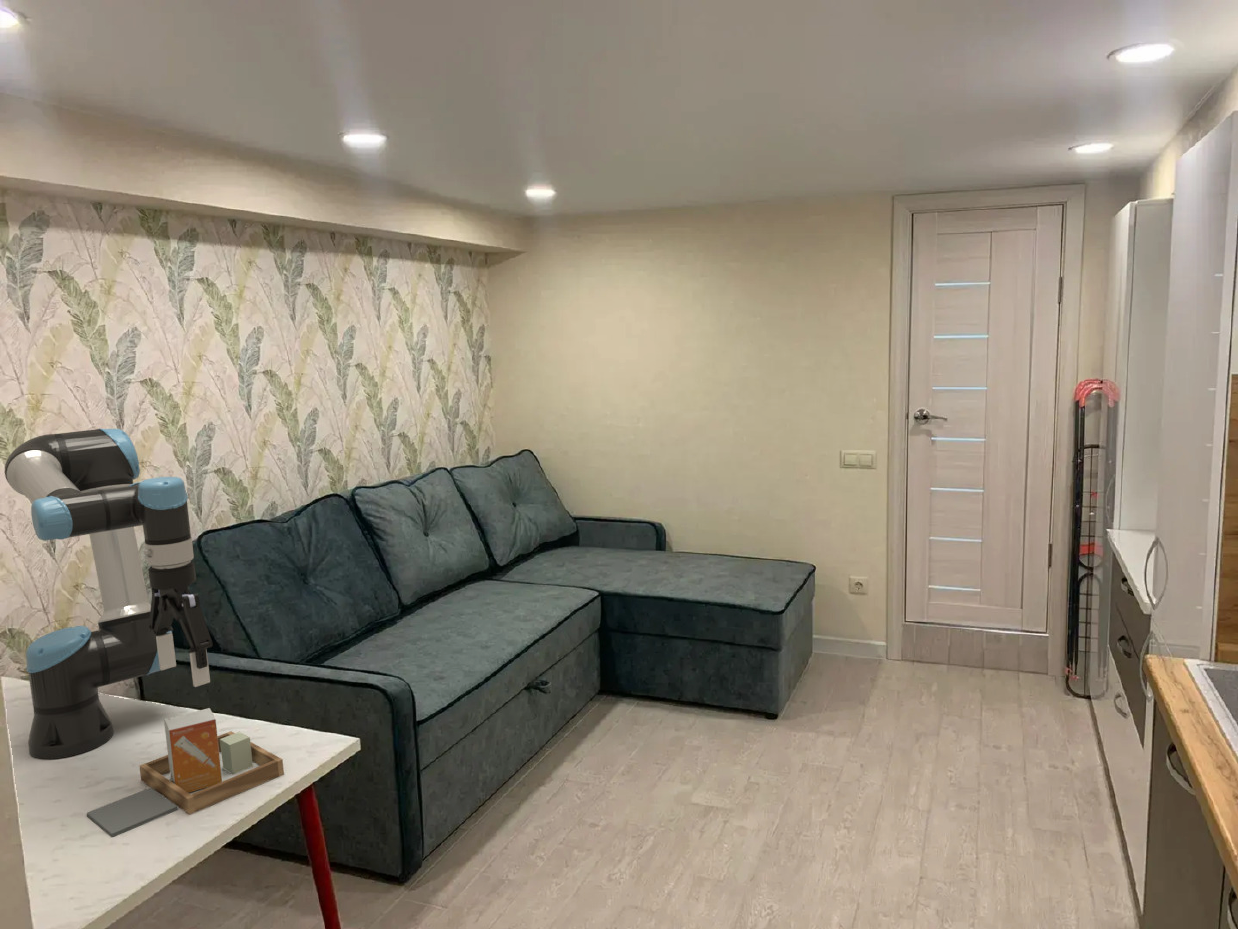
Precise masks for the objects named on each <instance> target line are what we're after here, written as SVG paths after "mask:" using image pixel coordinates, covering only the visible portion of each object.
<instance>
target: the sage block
mask: <svg viewBox="0 0 1238 929" xmlns="http://www.w3.org/2000/svg"><path fill="white" fill-rule="evenodd" d="M234 733H235V734H232V735H229V736H227V737H224V738H222V739H220V746H221V752H220V755H221V761H222V769H224V770H225V771H227V772H229V773H230V774H232V775H235V774H237V773H240V772H242V771H244V770H246V769H249V768H251V767H254V763H253V762H254V761H252V753H251V744H250V742H251V737H250V736H249V735H247V734H244V732H243V733H242V732H241V731H238V732H234Z"/></svg>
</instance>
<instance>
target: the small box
mask: <svg viewBox="0 0 1238 929" xmlns="http://www.w3.org/2000/svg"><path fill="white" fill-rule="evenodd" d="M163 725H164V732H165V741H166V750H167V755H168V760H169V768H170V772H169V774H170V781H171V782H173V783H174V784H176V785H177V786H179V787H180V788H182V789H183V790H185V791H186V792H188V793H189V794H190V793H192V792H195V791H198V790H199V791H200V790H203V789H206V788H208V787H211V786H213V785H215V784H218V783H220V782H223V776H222V769H221V768H222V766H221V757H220V755H221V754H220V752H219V746H218V737H217V736H218V729H217V719H216V717H215V715H214V713H213V711H212V710H211V708H210V707H207V708H205V709H200V710H196V711H191V712H187V713H182V714H179V715H176V716H170V717H168V718H164V719H163Z"/></svg>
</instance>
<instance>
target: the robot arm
mask: <svg viewBox="0 0 1238 929" xmlns="http://www.w3.org/2000/svg"><path fill="white" fill-rule="evenodd" d="M140 475H141V469H140V460H139V457H138V453H137V451H136V448H135V445H134V442H133V441H132V439H131V437H129V435H128V434H127V433H126V432H125V431H124V430H123V429H121V428H96V429H88V430H78V431H70V432H60V433H50V434H43V435H39V436H35V437H33V438H30V439H29V440H26V441H24V442H23V443H21V444H20V445H18V446H16V448H15V449H14V450H13V451H12V452H11V453H10V454H9V456H8V458H7V459H6V461H5V464H4V476H5V479H6V482H7V483H8V484H9V486H10V487H11V489H13V491H15V492H16V493H17V494H20V495H23V496H25V497H26V498H27V499H28V500H29V501H30V503H31V508H30V515H31V521H32V522H31V523H32V526H33V529H34V531H35V532H34V533H35V535H36V537H37V539H39V540H41V541H54V540H65V539H68V538H74V537H81V536H86V535H89V539H90V544H91V550H92V551H91V552H92V556H93V561H94V567H95V571H96V572H95V573H96V577H97V582H98V586H99V587H98V588H99V592H100V598H101V602H102V608H103V614H102V615H101V616H100V618H99V619H98V620H97V625H98V630H93V631H91V629H90V628H89V627H88V626H85V625H75V626H73V627H72V626H69V627H65V628H61V629H57V630H54V631H51V632H49V633H46V634H43V635H42V636H40V637H38V638H37V639H35V640H34V641H32V642H31V644H29V646H28V647H27V649H26V652H25V653H26V654H25V656H26V657H25V658H26V659H25V660H26V667H25V668H26V669H25V670H26V672H27V673H28V680H29V686H30V687H29V688H30V693H31V694H30V695H31V701H32V707H33V708H32V709H33V718H32V722H31V728H30V732H29V735H28V736H29V737H28V739H27V740H28V741H27V744H28V752H29V755H31V757H33V758H35V759H36V758H37V759H45V760H51V759H54V760H55V759H63V758H67V757H72V756H76V755H80V754H83V753H87V752H88V751H91V750H93V749H96V748H99V747H101V746H102V745H103V744H104V745H105V743H107V742H108V741H109V740H110V739H111V738H112V737H113V735H114V729H113V723H112V720H111V718H110V717H109V715H108V713H107V711H106V710H105V708H104V707H103V704H102V703H101V701H100V696H99V690H98V688H100V687H104V686H107V685H111V684H116V683H120V682H123V681H124V682H125V681H127V680H132V679H135V678H141V677H143V676H144V677H146V676H147V677H148V675H150V674H154V673H157V672H160V671H164V670H168V669H170V668H171V669H172V668H175V667H177V662H176V652H175V644H174V636H173V631H174V629H173V626H172V624H173V621H174V619H175V621H178V622H179V624H180V626H181V628H182V630H183V633H184V635H185V637H186V639H187V642H188V644H189V647H190V648H189V649H188V651H187V652H188V654H189V660H190V668H191V677H192V686H193V687H195V688H197V687H200V686H202V685H206V684H209V683H211V677H210V666H209V659H208V652H207V651H208V650H207V649H208V648H212V647H213V646H214V644H213V640H212V637H211V635H210V631H209V628H208V626H207V622H206V619H205V617H204V616H205V615H204V613H203V610H202V607H201V603H200V596H199V593H197V592H196V593H193V594H190V590H189V586H190V585H192V584H193V583H195V582H196V580H197V576H196V575H197V574H196V569H195V568H196V567H195V562H193V560H194V558H195V557H194V556H195V555H194V548H193V547H194V546H193V539H192V535H191V527H190V526H191V525H190V524H191V523H190V517H189V515H190V514H189V507H188V494H187V491H186V485H185V482H184V480H183V479H182V478H181V477H178V476H158V477H153V478H147V479H143V480H142V481H137V482H134V480H136V479H138V478H139V476H140ZM140 526H142V529H143V530H142V531H143V536H144V544H145V550H144V551H143V555H144V556H146V560H147V565H148V566H150V567H149V568H148V569H147V570H148V581H149V586H150V588H151V601H150V602H149V598H148V593H147V588H146V584H145V579H144V571H143V567H142V562H141V556H140V553H139V552H140V551H139V547H138V542H137V541H138V540H137V536H136V531H135V528H136V527H140Z"/></svg>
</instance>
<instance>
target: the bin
mask: <svg viewBox="0 0 1238 929" xmlns="http://www.w3.org/2000/svg"><path fill="white" fill-rule="evenodd" d="M235 733H236V732H233V731H231V730H230V731H228V732H226V733H223V734H220V735H217V737H218V746H219V753H221V746H220V739H222V738H224V737H227V736H229V735H232V734H235ZM250 744H251V753H252V762H254V763H255V764H257V765H259V766H257V767H255V768H252V769H250V770H248V771H245V772H242V773H240V774H237V775H235V776H233V777H231V778H228V779H225V780H222V782H220V783H218V784H215V785H213V786H211V787H207V788H203V789H200V790H199V791H198V790H197V792H194V793H192V794H191V793H190V792H189V793H188V792H186V791H185V790H183V789H182V788H180V787H179V786H177V785H176V784H174V783H173V782H171V779H168V778H167V777H166V776H164V775H165V774H167V773H170V768H169V760H168V754H167V755H164V756H161V757H159V758H156V759H153V760H151V761H148V762H145V763H142V764H140V765H139V773H140V774H139V775H140V781H141V782H143V783H144V784H146V785H147V786H149V788H150V787H151V788H152V789H154V790H155V791H156V792H158V793H159V794H161V795H162V796H164V797H165V798H166V799H168V800H169V801H171V802H172V803H173V804H175V805H176V806H177V807H178V808H179V809H181V810H182V811H184V812H185V813H187V814H188V815H192V814H195V813H196V812H200V811H201V810H203V809H206V808H208V807H209V808H210V807H211V806H213V805H216V804H217V803H220V802H222V801H224V800H227V799H229V798H232V797H234V796H236V795H239V794H241V793H243V792H245V791H248V790H250V789H253V788H254V787H257V786H260V785H262V784H264V783H267V782H269V781H271V780H274V779H275V778H278V777H280V776H283V775H284V774H285V772H284V769H285V768H284V762H283V759H282V758H281V757H280V756H278V755H275V754H273V753H272V752H270V751H269V750H267V749H265V748H263V747H261V746H259V745H257V744H256V743H253V742H251V741H250Z"/></svg>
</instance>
